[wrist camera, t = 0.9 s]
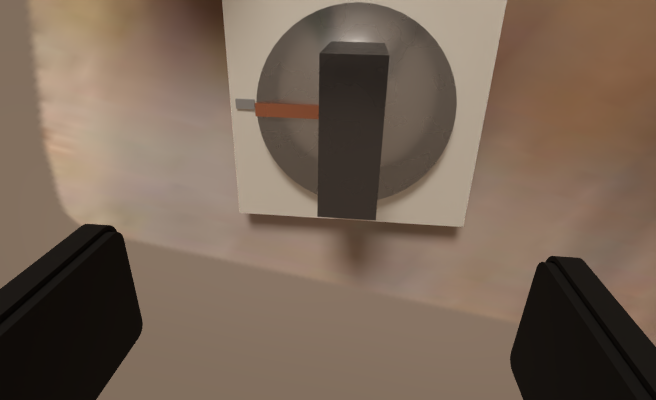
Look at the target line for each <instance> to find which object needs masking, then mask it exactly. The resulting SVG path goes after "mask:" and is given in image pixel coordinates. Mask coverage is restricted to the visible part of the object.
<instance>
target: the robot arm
mask: <svg viewBox="0 0 656 400" xmlns="http://www.w3.org/2000/svg"><path fill="white" fill-rule="evenodd" d="M141 331H142V317H141V313H140V309H139V305H138V300H137V296H136V291H135V287H134V282H133V278H132V273H131V269H130V265H129V260H128V256H127V252H126V247H125V242H124V238H123V236H122V234H121V233H119V232H117V231H116V229H115V228H114V227H113V226H110V225H96V224H85V225H83V226H81V227H80V228H78V229H77V230H76V231H75V232H73V233H72V234H71V235H69V236H68V237H67V238H66V239H64V240H63V241H62V242H60V243H59V244H58V245H56V246H55V247H54V248H53V249H51V250H50V251H49V252H48V253H46V254H45V255H44V256H42V257H41V258H40V259H38V260H37V261H36V262H35V263H33V264H32V265H31V266H29V267H28V268H27V269H26V270H24V271H23V272H22V273H20V274H19V275H18V276H17V277H15V278H14V279H13V280H11V281H10V282H9V283H7V284H6V285H5V286H4V287H2V288H1V289H0V400H96V399H97V398H98V396H99V395H100V393H101V392H102V390H103V389H104V387H105V386H106V384H107V383H108V381H109V380H110V379H111V377H112V376H113V374H114V373H115V371H116V370H117V368H118V367H119V365H120V364H121V362H122V361H123V360H124V358H125V357H126V355H127V354H128V352H129V351H130V349H131V348H132V347H133V345H134V344H135V342H136V341H137V339H138V338H139V336H140V334H141ZM510 361H511V369H512V371H513V374H514V377H515V380H516V382H517V385H518V387H519V389H520V392H521V395H522V397H523V400H656V347H655V346H654V344H653V343H652V342H651V341H650V340H649V338H648V337H647V336H646V335H645V334H644V332H643V331H642V330H641V329H640V328H639V326H638V325H637V324H636V323H635V322H634V320H633V319H632V318H631V317H630V316H629V314H628V313H627V312H626V311H625V310H624V308H623V307H622V306H621V305H620V304H619V303H618V301H617V300H616V299H615V298H614V297H613V295H612V294H611V293H610V292H609V291H608V289H607V288H606V287H605V286H604V285H603V283H602V282H601V281H600V280H599V279H598V277H597V276H596V275H595V274H594V273H593V271H592V270H591V269H590V268H589V267H588V265H587V264H586V263H585V262H584V261H583V260H582V259H580V258H573V257H558V256H551V257H549V258H548V259H547V260H546V262H541V263H539V264H538V266H537V268H536V272H535V275H534V278H533V282H532V285H531V288H530V292H529V295H528V298H527V301H526V305H525V308H524V311H523V315H522V318H521V321H520V325H519V328H518V331H517V335H516V338H515V341H514V345H513V348H512V351H511V356H510Z"/></svg>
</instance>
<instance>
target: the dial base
mask: <svg viewBox="0 0 656 400" xmlns="http://www.w3.org/2000/svg"><path fill="white" fill-rule="evenodd" d="M355 2H363V3H373V4H378V5H382V6H386V7H389V8H392V9H394V10H397V11H399V12H401V13H403V14H405V15H407V16H408V17H410V18H412V19H413V20H415V21H416V22H417V23H419V24H420V25H421V26H422V27H424V28H425V29H426V30H427V31H428V32H429V33H430V34H431V36H432V37H433V38H434V39H435V40H436V41H437V43H438V44H439V46H440V47H441V49H442V50H443V52H444V54H445V56H446V58H447V60H448V62H449V64H450V67H451V70H452V73H453V76H454V81H455V86H456V96H457V108H456V118H455V122H454V127H453V131H452V133H451V136H450V139H449V141H448V144H447V145H446V147H445V149H444V151H443V153H442V155H441V156H440V158H439V159H438V160H437V162H436V163H435V165H434V166H433V167H432V168H431V169H430V170H429V171H428V172H427V173H426V174H425V175H424V176H423V177H422V178H421V179H419V180H418V181H417V182H416V183H414V184H413V185H411V186H410V187H408V188H407V189H405V190H403V191H401V192H399V193H397V194H394V195H392V196H389V197H386V198H383V199H379V200H377V211H376V220H361V219H345V218H329V217H317V208H318V195H317V194H315V193H313V192H311V191H309V190H307V189H305V188H304V187H302V186H301V185H299V184H298V183H296V182H295V181H294V180H292V179H291V178H290V177H289V176H288V175H287V174H286V173H285V172H284V171H283V170H282V169H281V168H280V167H279V166H278V164H277V163H276V162H275V160H274V159H273V157H272V156H271V154H270V152H269V150H268V149H267V147H266V145H265V142H264V140H263V137H262V135H261V132H260V128H259V124H258V118H257V116H255V103H256V98H257V89H258V82H259V79H260V75H261V71H262V69H263V66H264V64H265V62H266V59H267V57H268V55H269V54H270V52H271V50H272V49H273V47H274V45H275V44H276V43H277V42H278V40H279V39H280V38H281V37H282V35H283V34H284V33H286V32H287V31H288V30H289V29H290V28H291V27H292V26H293V25H294V24H296V23H297V22H298V21H300V20H301V19H303V18H304V17H306V16H308V15H310V14H312V13H314V12H315V11H317V10H320V9H323V8H326V7H329V6H332V5H337V4H343V3H355ZM506 3H507V0H222V6H223V18H224V30H225V43H226V55H227V67H228V79H229V91H230V103H231V115H232V127H233V139H234V151H235V163H236V175H237V188H238V200H239V212H240V213H250V214H266V215H282V216H297V217H313V218H329V219H345V220H360V221H376V222H392V223H408V224H424V225H439V226H455V227H463V225H464V220H465V215H466V210H467V205H468V199H469V194H470V189H471V184H472V179H473V173H474V168H475V163H476V158H477V153H478V148H479V142H480V137H481V132H482V127H483V122H484V117H485V111H486V106H487V101H488V96H489V91H490V85H491V80H492V75H493V70H494V65H495V60H496V54H497V49H498V44H499V39H500V34H501V29H502V23H503V18H504V13H505V8H506Z"/></svg>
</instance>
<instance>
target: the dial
mask: <svg viewBox="0 0 656 400" xmlns="http://www.w3.org/2000/svg"><path fill="white" fill-rule="evenodd" d="M456 108H457V96H456V86H455V81H454V76H453V73H452V70H451V67H450V64H449V62H448V60H447V58H446V56H445V54H444V52H443V50H442V49H441V47H440V46H439V44H438V43H437V41H436V40H435V39H434V38H433V37H432V36H431V34H430V33H429V32H428V31H427V30H426V29H425V28H424V27H422V26H421V25H420V24H419V23H417V22H416V21H415V20H413V19H412V18H410V17H408V16H407V15H405V14H403V13H401V12H399V11H397V10H394V9H392V8H389V7H386V6H382V5H378V4H373V3H363V2H355V3H343V4H337V5H332V6H329V7H326V8H323V9H320V10H317V11H315V12H314V13H312V14H310V15H308V16H306V17H304V18H303V19H301V20H300V21H298V22H297V23H296V24H294V25H293V26H292V27H291V28H290V29H289V30H288V31H287V32H286V33H284V34H283V35H282V37H281V38H280V39H279V40H278V42H277V43H276V44H275V45H274V47H273V49H272V50H271V52H270V54H269V55H268V57H267V59H266V62H265V64H264V66H263V69H262V71H261V75H260V79H259V82H258V89H257V98H256V103H255V116H257V118H258V124H259V128H260V132H261V135H262V137H263V140H264V142H265V145H266V147H267V149H268V150H269V152H270V154H271V156H272V157H273V159H274V160H275V162H276V163H277V164H278V166H279V167H280V168H281V169H282V170H283V171H284V172H285V173H286V174H287V175H288V176H289V177H290V178H291V179H292V180H294V181H295V182H296V183H298V184H299V185H301V186H302V187H304V188H305V189H307V190H309V191H311V192H313V193H315V194H317V195H318V208H317V217H329V218H345V219H361V220H376V211H377V200H379V199H383V198H386V197H389V196H392V195H394V194H397V193H399V192H401V191H403V190H405V189H407V188H408V187H410V186H411V185H413V184H414V183H416V182H417V181H418V180H419V179H421V178H422V177H423V176H424V175H425V174H426V173H427V172H428V171H429V170H430V169H431V168H432V167H433V166H434V165H435V163H436V162H437V160H438V159H439V158H440V156H441V155H442V153H443V151H444V149H445V147H446V145H447V144H448V141H449V139H450V136H451V133H452V131H453V127H454V122H455V118H456Z"/></svg>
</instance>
